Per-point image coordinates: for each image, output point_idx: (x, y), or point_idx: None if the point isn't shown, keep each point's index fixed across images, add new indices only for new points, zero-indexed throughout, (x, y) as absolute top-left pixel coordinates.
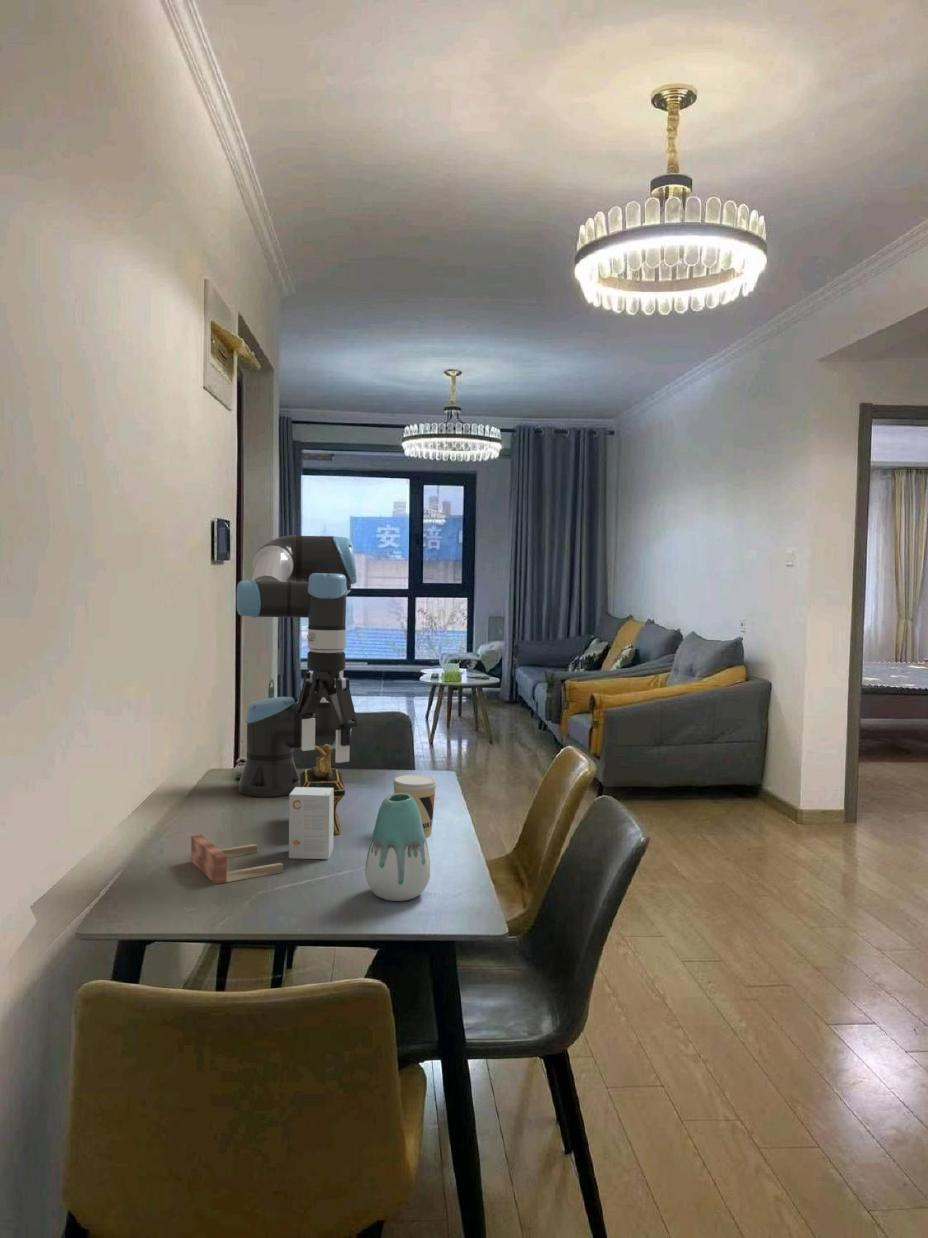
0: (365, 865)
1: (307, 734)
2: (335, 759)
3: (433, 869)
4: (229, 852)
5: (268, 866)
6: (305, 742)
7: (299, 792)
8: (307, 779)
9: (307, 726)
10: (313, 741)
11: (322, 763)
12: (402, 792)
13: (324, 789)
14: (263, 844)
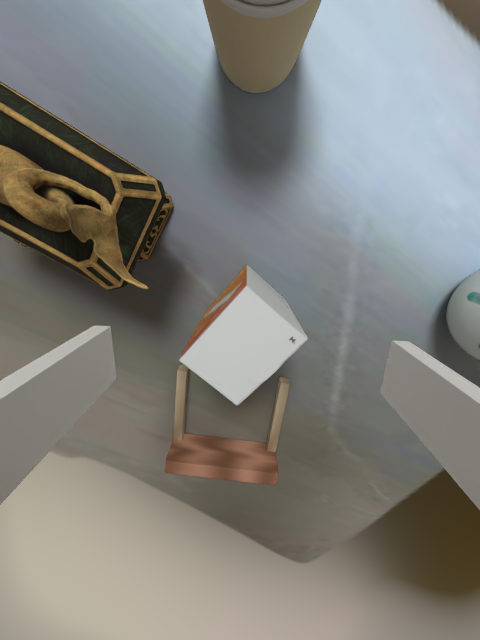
0: (477, 358)
1: (69, 403)
2: (386, 399)
3: (452, 176)
4: (184, 407)
5: (283, 402)
6: (96, 389)
7: (238, 381)
8: (53, 247)
9: (34, 437)
10: (89, 348)
11: (97, 249)
12: (286, 19)
13: (251, 318)
14: (154, 339)
